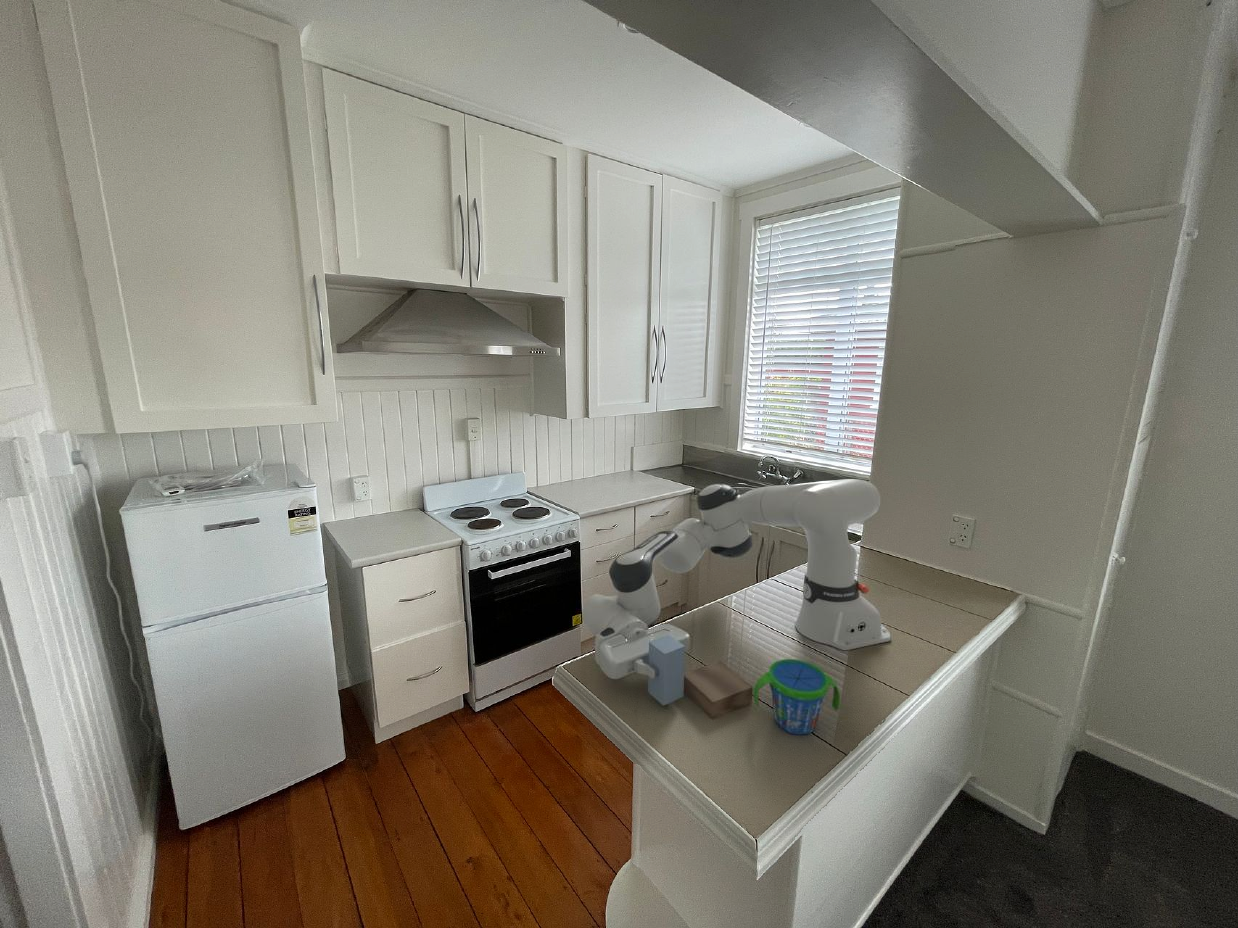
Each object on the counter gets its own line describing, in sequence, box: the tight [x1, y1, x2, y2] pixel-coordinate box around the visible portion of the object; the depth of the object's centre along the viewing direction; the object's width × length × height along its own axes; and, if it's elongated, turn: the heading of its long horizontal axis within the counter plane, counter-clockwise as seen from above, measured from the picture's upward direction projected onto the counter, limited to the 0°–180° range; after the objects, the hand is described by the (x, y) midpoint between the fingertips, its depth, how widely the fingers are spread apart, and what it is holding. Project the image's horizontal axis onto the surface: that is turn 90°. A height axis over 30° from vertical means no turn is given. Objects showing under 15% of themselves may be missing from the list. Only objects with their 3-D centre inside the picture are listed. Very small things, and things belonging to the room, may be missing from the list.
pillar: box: [647, 635, 686, 706], centre depth 100 cm, size 5×5×11 cm
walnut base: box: [683, 660, 754, 720], centre depth 103 cm, size 10×10×4 cm
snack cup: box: [753, 658, 841, 735], centre depth 95 cm, size 16×10×10 cm
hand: (669, 668), depth 99 cm, fingers closed on pillar, 5 cm apart
